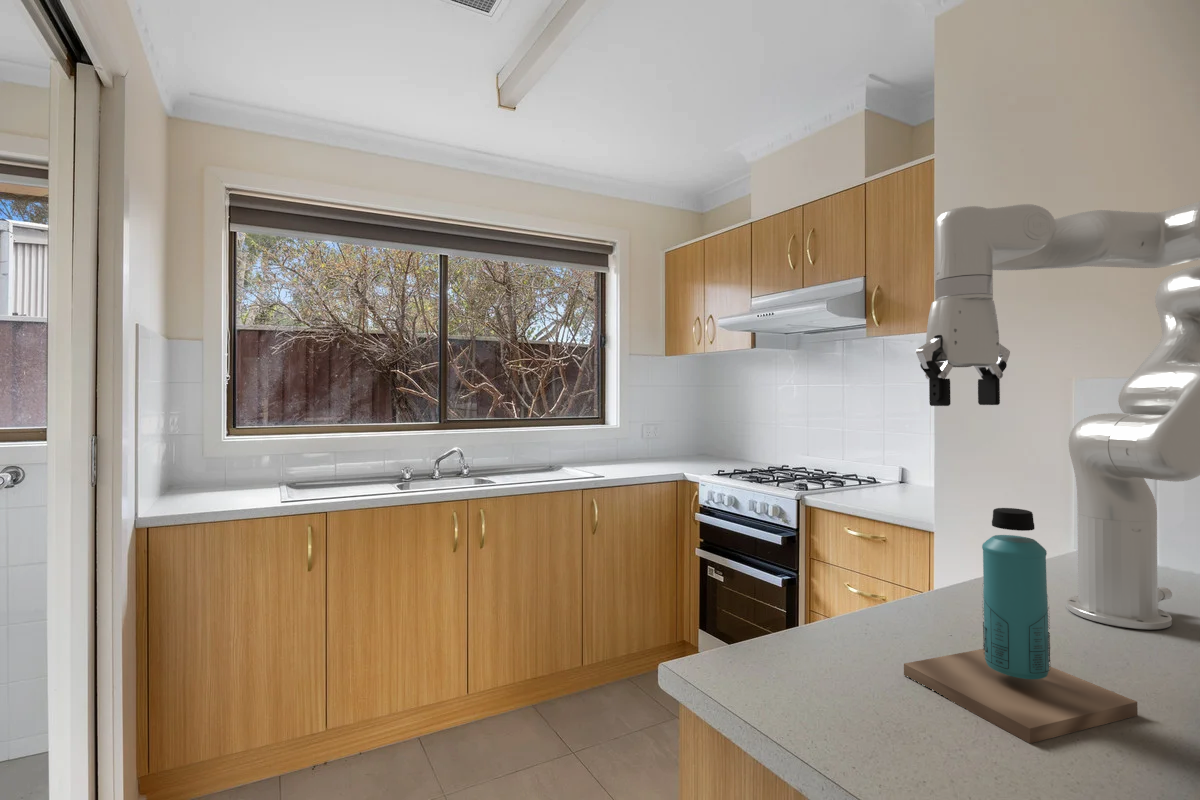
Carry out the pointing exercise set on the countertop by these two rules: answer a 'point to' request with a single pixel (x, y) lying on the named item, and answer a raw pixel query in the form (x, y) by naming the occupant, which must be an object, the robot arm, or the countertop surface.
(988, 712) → the walnut board
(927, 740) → the countertop surface
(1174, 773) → the countertop surface
